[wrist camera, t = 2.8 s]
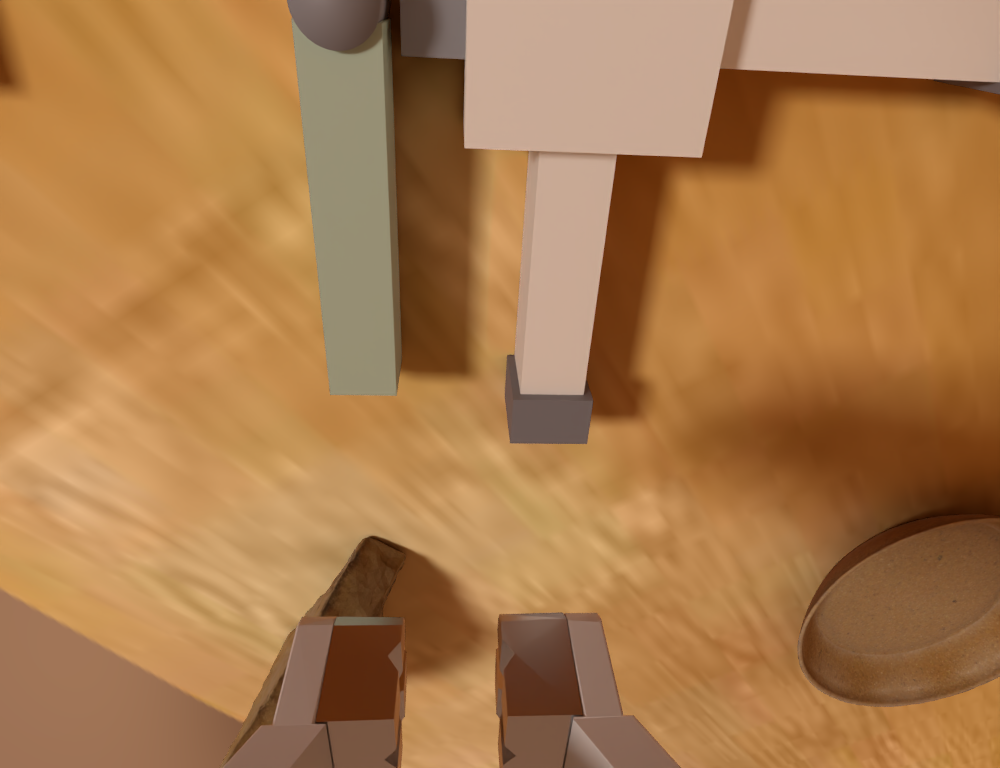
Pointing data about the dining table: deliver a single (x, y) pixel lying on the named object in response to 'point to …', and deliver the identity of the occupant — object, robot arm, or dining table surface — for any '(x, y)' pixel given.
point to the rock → (348, 596)
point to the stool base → (643, 124)
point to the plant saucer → (908, 615)
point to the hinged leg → (352, 186)
